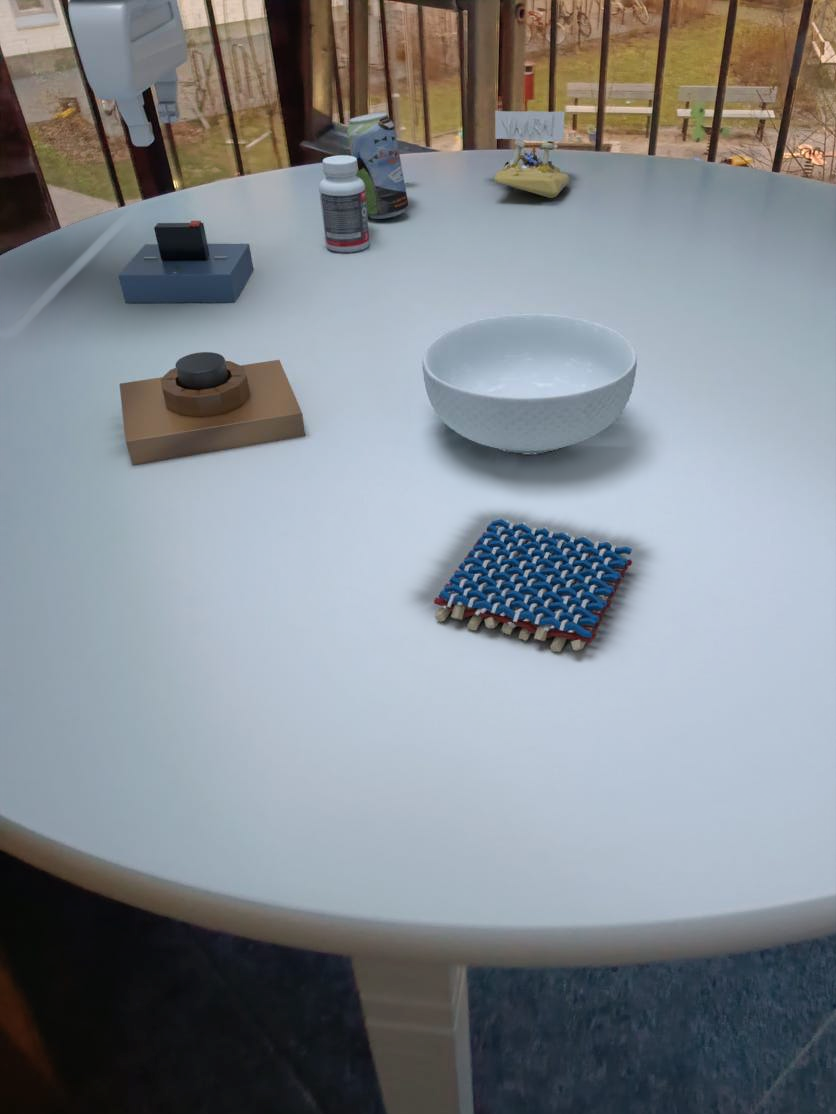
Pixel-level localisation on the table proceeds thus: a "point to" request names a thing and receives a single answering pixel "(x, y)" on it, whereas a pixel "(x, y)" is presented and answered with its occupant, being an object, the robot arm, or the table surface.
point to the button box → (209, 413)
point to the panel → (187, 276)
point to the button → (202, 371)
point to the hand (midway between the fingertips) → (158, 132)
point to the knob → (182, 241)
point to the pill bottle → (343, 205)
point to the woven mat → (535, 583)
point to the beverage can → (378, 164)
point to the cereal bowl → (529, 380)
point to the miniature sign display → (524, 168)
